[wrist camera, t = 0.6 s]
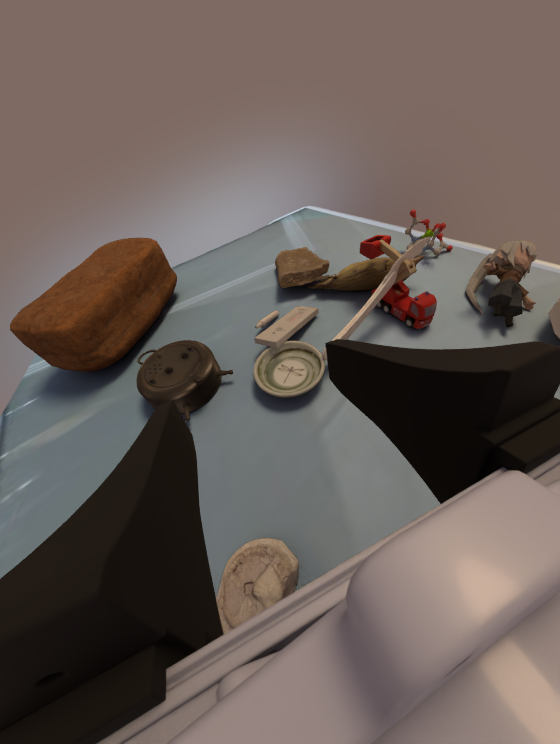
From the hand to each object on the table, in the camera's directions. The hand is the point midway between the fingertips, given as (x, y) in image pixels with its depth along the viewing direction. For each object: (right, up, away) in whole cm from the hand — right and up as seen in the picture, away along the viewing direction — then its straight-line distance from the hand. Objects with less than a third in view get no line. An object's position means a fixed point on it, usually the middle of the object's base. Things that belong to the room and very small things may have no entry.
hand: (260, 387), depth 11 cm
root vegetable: (+15, +20, +32) cm, 41 cm away
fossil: (+1, -18, +7) cm, 19 cm away
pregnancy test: (+2, +8, +29) cm, 30 cm away
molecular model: (+28, +30, +41) cm, 58 cm away
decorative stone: (+3, +29, +43) cm, 52 cm away
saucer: (+2, 0, +24) cm, 24 cm away
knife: (+16, +12, +23) cm, 30 cm away
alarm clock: (-8, -2, +21) cm, 23 cm away
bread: (-31, +17, +29) cm, 46 cm away
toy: (+34, +11, +27) cm, 45 cm away
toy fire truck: (+19, +11, +30) cm, 37 cm away
